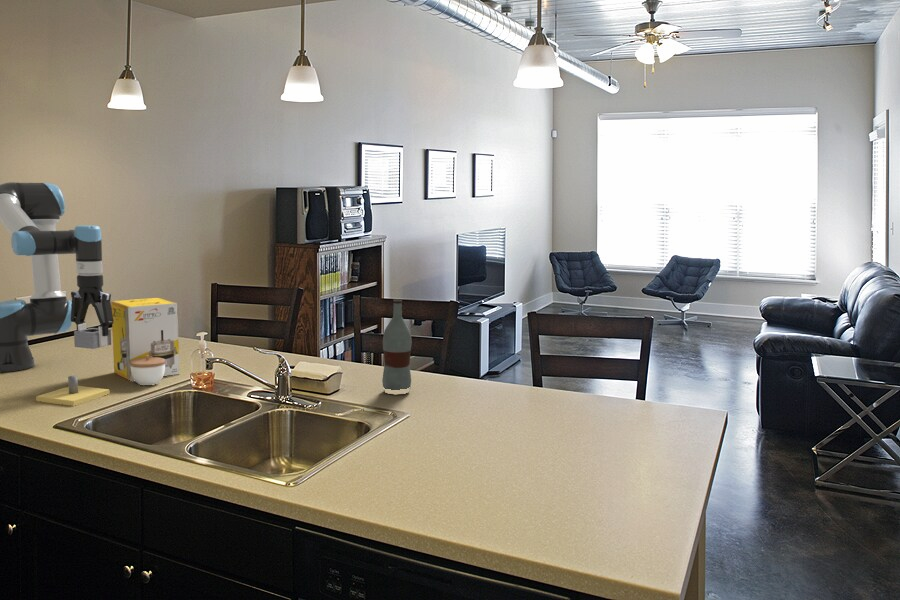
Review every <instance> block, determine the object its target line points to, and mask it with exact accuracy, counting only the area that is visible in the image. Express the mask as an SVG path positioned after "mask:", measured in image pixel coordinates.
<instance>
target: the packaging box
mask: <svg viewBox="0 0 900 600" xmlns="http://www.w3.org/2000/svg"><path fill="white" fill-rule="evenodd" d="M110 302H111V308H112V314H113V320H114V323H113V324H111V329H112V330H111V332H112V347H113V348H112V351H113V369H114V371H113V372H114V373H115V374H116V373H117V374H116V375H118V376H120V377H122V378H123V377H124V379H125V378H126V379H125V380H127V379H128V380H127V381H129V380H130V381H129V382H131V381H132V382H135V381H134V379H133V377H132V374H131V365H130V361H132V360H134V359H138V358H146V356H147V355H149V357H159V358H163V359H165V373H164V376H165V375H172V374H177V373H179V374H180V353H179V349H180V346H179V322H178V319H179V316H178V302H174V301H171V300H167V299H164V298H161V297H152V298H151V297H150V298H137V299H135V298H134V299H127V300H126V299H124V300H121V299H120V300H110Z"/></svg>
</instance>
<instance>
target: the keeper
mask: <svg viewBox="0 0 900 600" xmlns="http://www.w3.org/2000/svg"><path fill="white" fill-rule="evenodd" d="M67 378H68V379H67V382H68V386H66V387H62V388H58V389H56V390H53V391H50V392H46V393H42V394H39V395H36V396H35V397H36V398H35V399H36V402H40V401H41V402H40V403H48V404H56V405H62V404H63V405H64V406H70V405H71V406H73V407H76V406H79V405H81V404H80V403H82V404H84V403H83V402H85V403H87V402H86V401H88V402H90V401H89V400H91V401H93V400H92V399H94V400H96V399H95V398H97V397H100V398H102V397H101V396H103V397H105V396H104V395H106V396H108V395H107V394H109V395H110V392H111V391H110V389H108V388H99V387H94V386H93V387H92V386H91V387H89V386H83V385H79V382H78V376H77V375H69V376H68V377H67ZM97 399H98V398H97ZM78 404H79V405H78ZM75 405H76V406H75ZM71 406H70V407H71Z"/></svg>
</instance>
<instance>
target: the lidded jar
mask: <svg viewBox="0 0 900 600" xmlns="http://www.w3.org/2000/svg"><path fill="white" fill-rule="evenodd" d="M130 365H131V374H132V377H133V379H134V380H135V381H134V382H135V383H137V384H138V385H139V384H140V385H152V384H156V383H158V382H159V383H160V382H161V381H162V379H163V378H164V377H163V376H164V373H165V359H163V358H159V357H149V355H147V356H146V358H138V359H134V360H132V361H130ZM159 383H158V384H159ZM140 385H139V386H140Z"/></svg>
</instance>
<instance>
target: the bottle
mask: <svg viewBox="0 0 900 600" xmlns="http://www.w3.org/2000/svg"><path fill="white" fill-rule="evenodd" d="M392 301H393V310H392V311H393V312H392V313H393V314H392V315H393V317H392V318H391V319H390V321H389V323H388V324H387V326H386V327H385V329H384V331H383V338H382V349H383V362H384V363H383V365H384V366H383V373H382V381H381V382H382V388H383V387H384V388H385V389H391V390H400V389H407V388H409V387H410V388H411V385H412V376H411V375H412V374H411V366H410V363H411V353H412V352H411V350H412V333H411V329H410V328H409V326H408V325H407V323H406V321H405V320H404V318H403V316H402V315H403V314H402V313H403V312H402V311H403V310H402V307H403V305H402V303H403V300H402V299H393V300H392Z"/></svg>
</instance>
